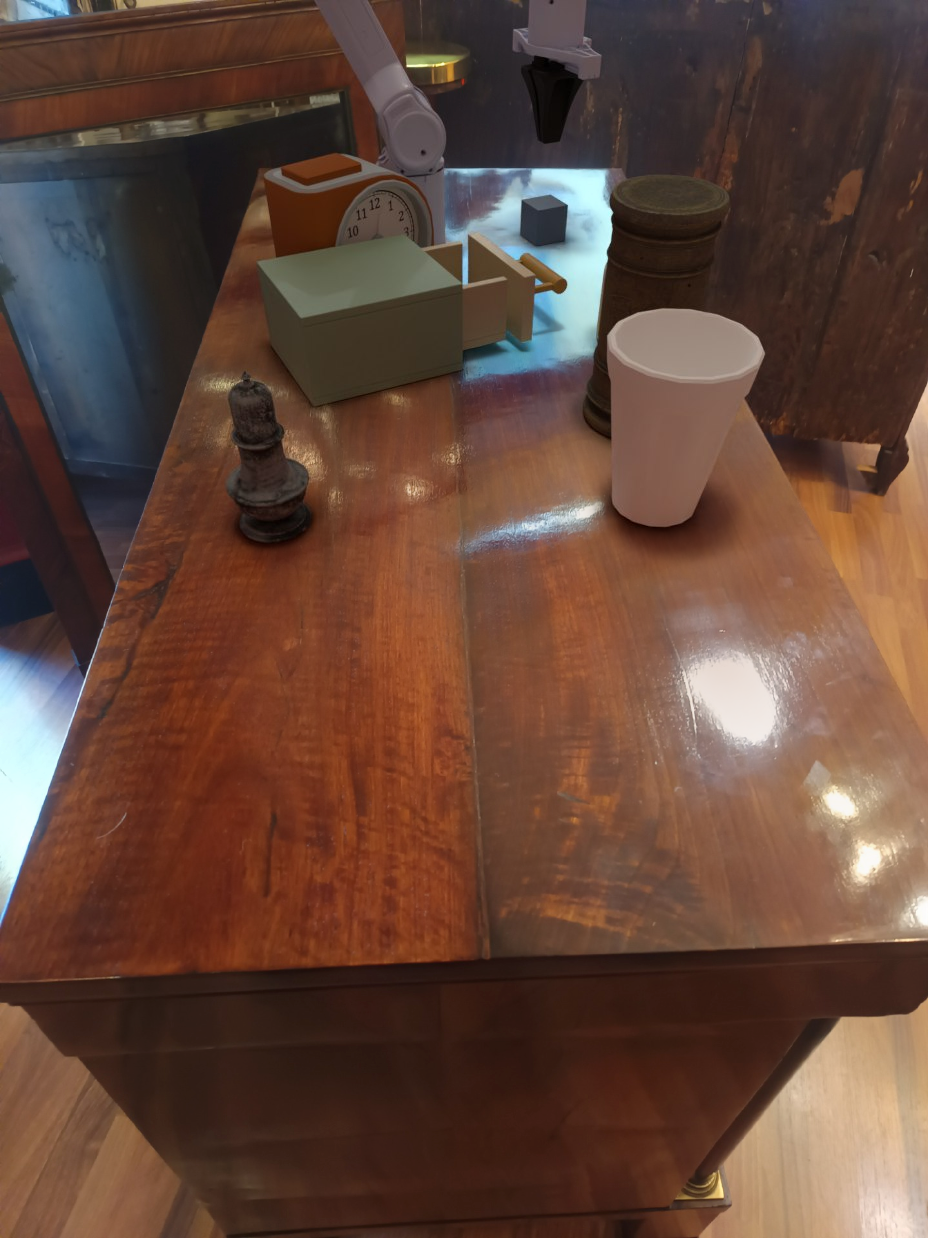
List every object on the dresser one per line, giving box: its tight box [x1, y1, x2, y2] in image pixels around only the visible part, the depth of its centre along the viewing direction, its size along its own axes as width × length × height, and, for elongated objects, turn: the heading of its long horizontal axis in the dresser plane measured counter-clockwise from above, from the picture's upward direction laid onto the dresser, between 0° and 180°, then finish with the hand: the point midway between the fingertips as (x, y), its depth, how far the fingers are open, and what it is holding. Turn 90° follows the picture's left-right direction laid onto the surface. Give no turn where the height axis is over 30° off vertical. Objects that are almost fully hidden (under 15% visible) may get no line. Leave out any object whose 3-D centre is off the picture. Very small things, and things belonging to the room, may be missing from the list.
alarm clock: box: [262, 152, 434, 258], centre depth 82 cm, size 15×8×14 cm, turn 132°
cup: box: [607, 309, 766, 528], centre depth 57 cm, size 10×10×13 cm
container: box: [582, 174, 731, 438], centre depth 64 cm, size 9×9×18 cm
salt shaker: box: [225, 370, 313, 544], centre depth 56 cm, size 6×6×12 cm
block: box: [519, 194, 569, 247], centre depth 97 cm, size 4×4×4 cm
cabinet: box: [255, 234, 464, 408], centre depth 75 cm, size 15×13×8 cm
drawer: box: [421, 231, 568, 351], centre depth 78 cm, size 18×11×6 cm, turn 116°
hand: (548, 140), depth 91 cm, fingers closed
